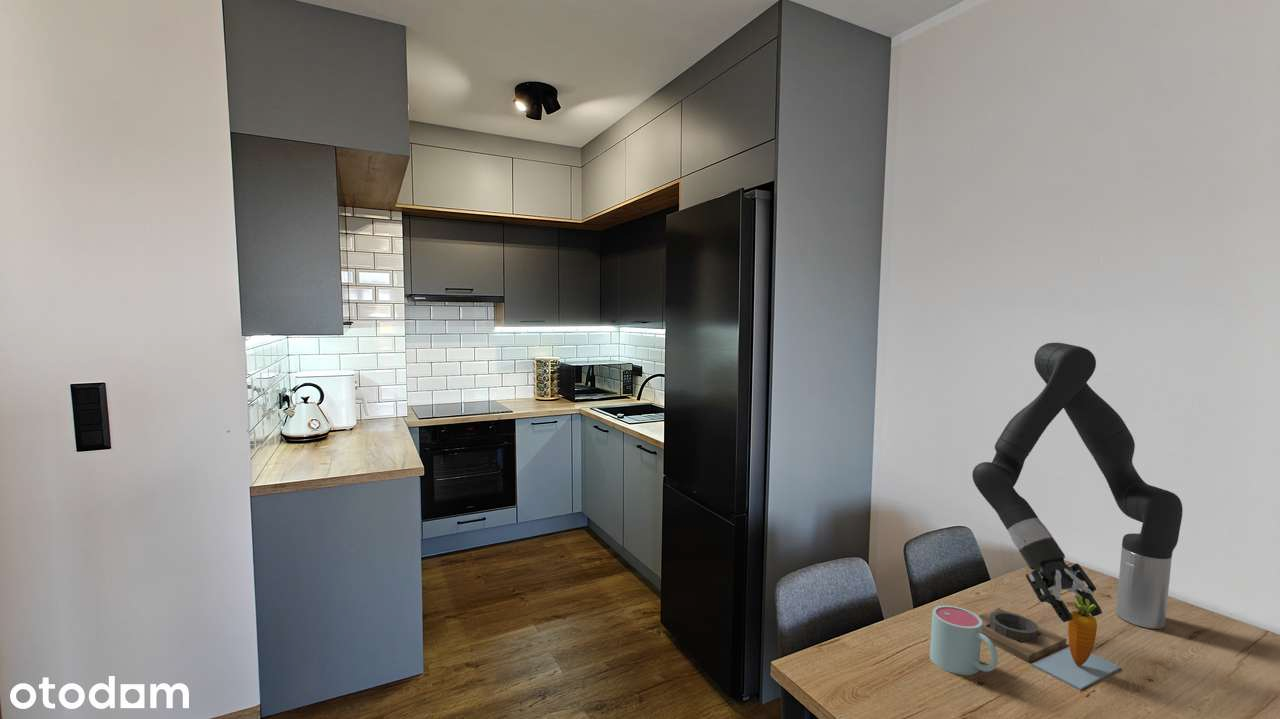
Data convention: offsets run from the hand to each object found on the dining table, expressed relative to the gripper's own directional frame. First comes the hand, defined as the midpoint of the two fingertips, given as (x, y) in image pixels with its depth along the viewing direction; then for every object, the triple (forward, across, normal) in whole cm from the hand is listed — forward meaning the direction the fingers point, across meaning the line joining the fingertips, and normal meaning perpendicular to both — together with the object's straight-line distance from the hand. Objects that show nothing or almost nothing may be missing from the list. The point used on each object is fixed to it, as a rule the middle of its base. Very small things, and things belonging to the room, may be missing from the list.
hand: (1083, 617), depth 122 cm
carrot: (+8, 0, +8) cm, 11 cm away
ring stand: (-2, -2, +17) cm, 17 cm away
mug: (+3, -24, +13) cm, 27 cm away
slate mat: (+8, 0, +8) cm, 11 cm away
